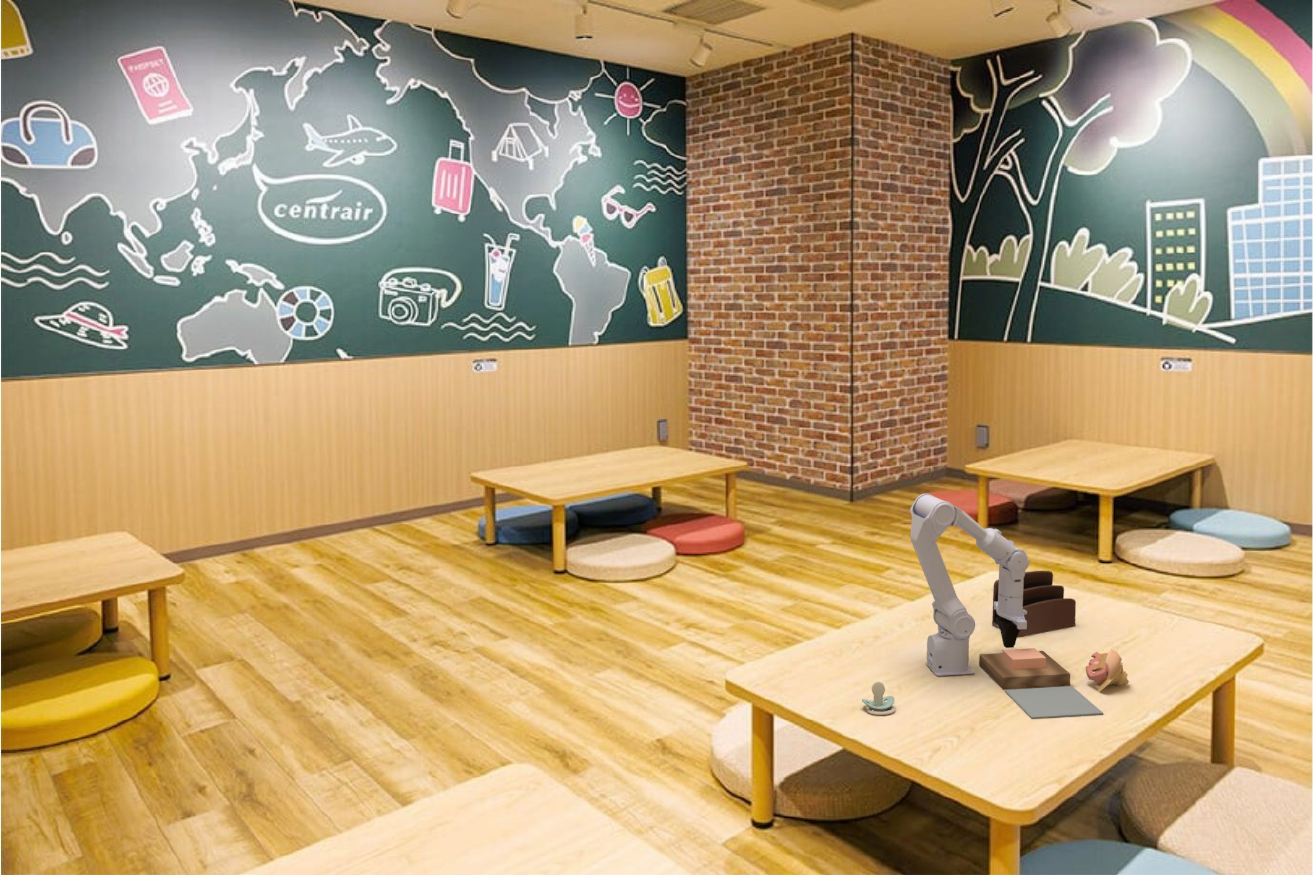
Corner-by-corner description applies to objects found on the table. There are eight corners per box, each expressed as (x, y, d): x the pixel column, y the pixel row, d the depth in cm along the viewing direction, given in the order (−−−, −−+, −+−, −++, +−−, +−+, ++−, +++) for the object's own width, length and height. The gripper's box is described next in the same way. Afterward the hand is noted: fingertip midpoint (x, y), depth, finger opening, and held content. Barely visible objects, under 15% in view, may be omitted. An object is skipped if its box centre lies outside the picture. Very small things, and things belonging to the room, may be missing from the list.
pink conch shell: (1121, 679, 231) (1144, 663, 223) (1108, 711, 225) (1131, 695, 218) (1086, 655, 233) (1108, 639, 225) (1072, 686, 227) (1094, 670, 220)
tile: (1012, 669, 229) (1013, 659, 229) (1002, 659, 235) (1002, 649, 235) (1045, 667, 230) (1046, 657, 229) (1034, 657, 236) (1034, 648, 235)
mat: (1031, 718, 211) (1031, 717, 211) (1004, 691, 225) (1004, 689, 225) (1103, 714, 212) (1103, 712, 212) (1071, 687, 226) (1072, 685, 226)
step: (1002, 689, 226) (1003, 677, 225) (979, 665, 240) (979, 654, 239) (1069, 685, 227) (1070, 673, 226) (1042, 662, 241) (1042, 650, 240)
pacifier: (900, 715, 215) (889, 702, 221) (901, 689, 214) (890, 677, 220) (869, 718, 214) (859, 706, 220) (869, 692, 213) (859, 680, 219)
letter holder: (991, 626, 266) (992, 576, 263) (1049, 615, 273) (1051, 566, 270) (1016, 638, 256) (1018, 587, 254) (1075, 626, 263) (1078, 576, 261)
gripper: (1039, 603, 232) (1037, 657, 234) (1013, 583, 246) (1012, 635, 248) (1011, 604, 231) (1009, 658, 233) (986, 585, 245) (985, 636, 248)
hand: (1008, 646), depth 241 cm, fingers closed
